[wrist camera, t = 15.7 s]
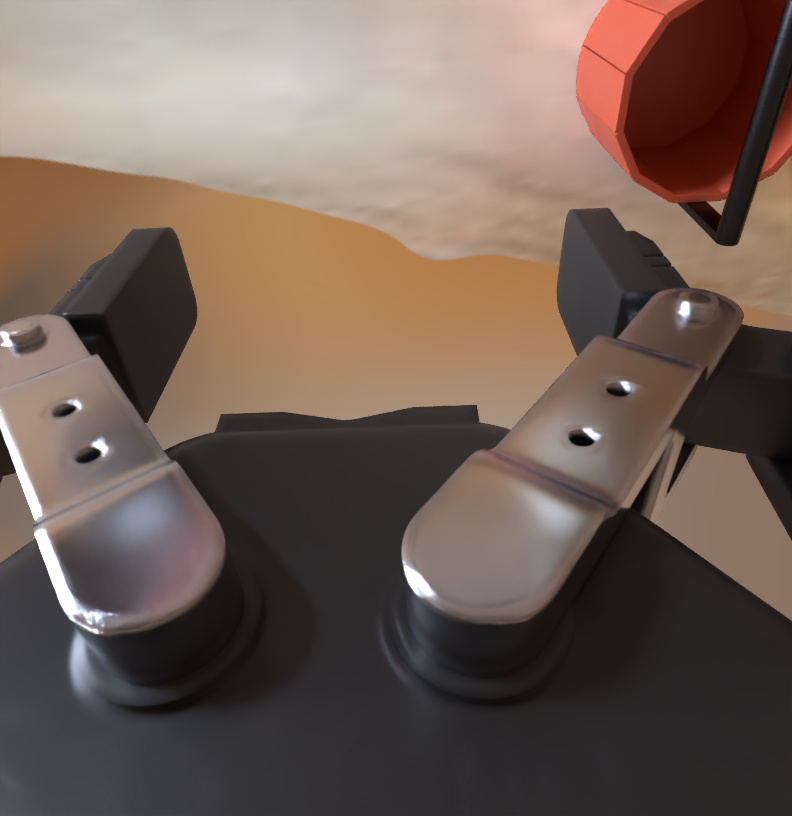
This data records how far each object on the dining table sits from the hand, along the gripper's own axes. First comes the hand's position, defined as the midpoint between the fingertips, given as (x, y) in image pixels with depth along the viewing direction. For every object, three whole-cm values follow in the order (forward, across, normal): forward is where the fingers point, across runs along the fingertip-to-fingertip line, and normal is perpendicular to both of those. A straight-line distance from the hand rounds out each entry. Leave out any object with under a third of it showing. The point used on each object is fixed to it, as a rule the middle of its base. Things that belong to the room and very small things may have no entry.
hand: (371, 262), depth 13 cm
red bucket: (+34, -18, +3) cm, 39 cm away
